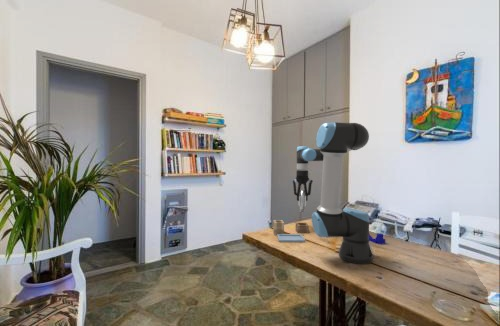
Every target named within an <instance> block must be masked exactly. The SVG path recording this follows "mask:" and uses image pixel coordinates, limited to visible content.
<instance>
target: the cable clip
mask: <svg viewBox="0 0 500 326" xmlns="http://www.w3.org/2000/svg"><path fill="white" fill-rule="evenodd" d="M369 242H371V243H374V244H377V245H385V244H386V239H385V238H384V233H381V232H380V233H377V234H376V237H375V238H373V237H372V235H371V234H370V233H369Z"/></svg>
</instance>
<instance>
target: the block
mask: <svg viewBox="0 0 500 326" xmlns="http://www.w3.org/2000/svg"><path fill="white" fill-rule="evenodd" d="M272 224H273V226H272V227H273V235H274V236H277V234H285V222H284V220H282V219H281V220H280V219H279V220H278V219H273V223H272Z"/></svg>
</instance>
